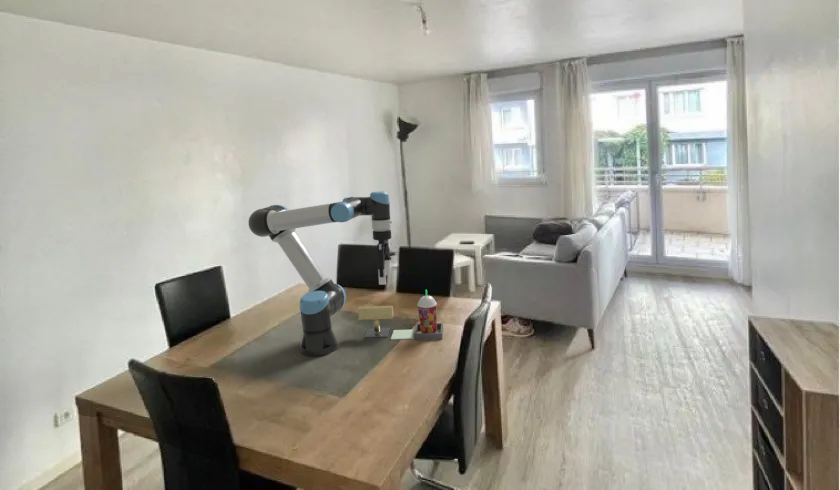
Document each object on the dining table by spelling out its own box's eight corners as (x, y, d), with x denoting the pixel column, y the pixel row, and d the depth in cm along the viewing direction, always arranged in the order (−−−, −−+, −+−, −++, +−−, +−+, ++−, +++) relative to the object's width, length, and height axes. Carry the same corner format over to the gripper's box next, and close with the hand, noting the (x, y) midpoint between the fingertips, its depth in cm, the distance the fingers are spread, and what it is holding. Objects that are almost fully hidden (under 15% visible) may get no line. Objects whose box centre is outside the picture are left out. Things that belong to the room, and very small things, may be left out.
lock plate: (364, 338, 215) (364, 336, 215) (368, 329, 225) (368, 328, 225) (387, 337, 214) (386, 336, 214) (390, 328, 224) (390, 327, 224)
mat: (390, 339, 212) (390, 338, 212) (393, 330, 221) (393, 330, 221) (414, 339, 211) (414, 338, 211) (416, 330, 221) (416, 329, 220)
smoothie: (439, 330, 219) (436, 286, 215) (438, 337, 211) (435, 292, 207) (420, 330, 220) (417, 287, 216) (418, 337, 212) (415, 293, 208)
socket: (414, 339, 210) (413, 334, 210) (416, 329, 222) (416, 323, 222) (442, 338, 209) (442, 333, 209) (443, 328, 221) (443, 322, 220)
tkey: (359, 332, 219) (357, 309, 216) (361, 330, 222) (359, 306, 219) (393, 331, 217) (391, 307, 215) (394, 329, 220) (392, 305, 218)
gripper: (386, 235, 191) (389, 288, 195) (394, 224, 215) (397, 271, 219) (367, 235, 191) (371, 288, 196) (377, 224, 216) (380, 271, 220)
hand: (384, 279), depth 208 cm, fingers open, 13 cm apart
